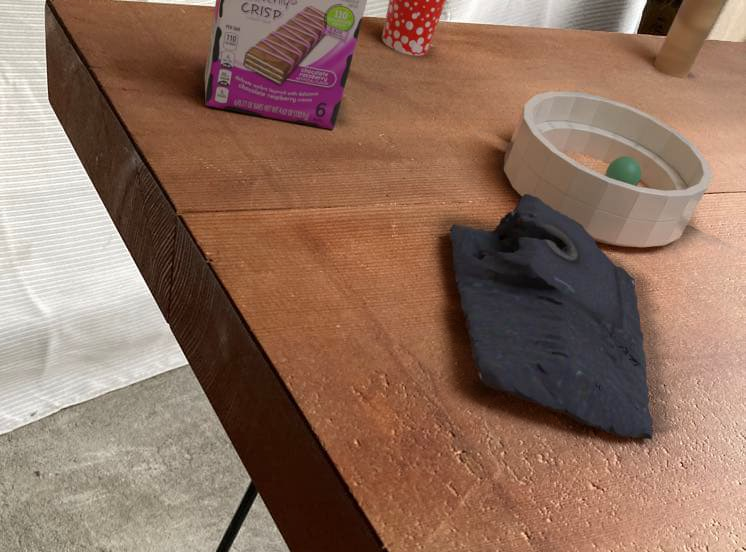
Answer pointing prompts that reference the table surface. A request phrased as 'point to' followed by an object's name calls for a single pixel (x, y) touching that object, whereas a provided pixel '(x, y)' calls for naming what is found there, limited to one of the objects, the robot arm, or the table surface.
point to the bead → (624, 170)
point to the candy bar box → (282, 57)
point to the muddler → (687, 36)
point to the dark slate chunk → (553, 318)
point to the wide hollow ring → (608, 142)
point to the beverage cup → (411, 25)
